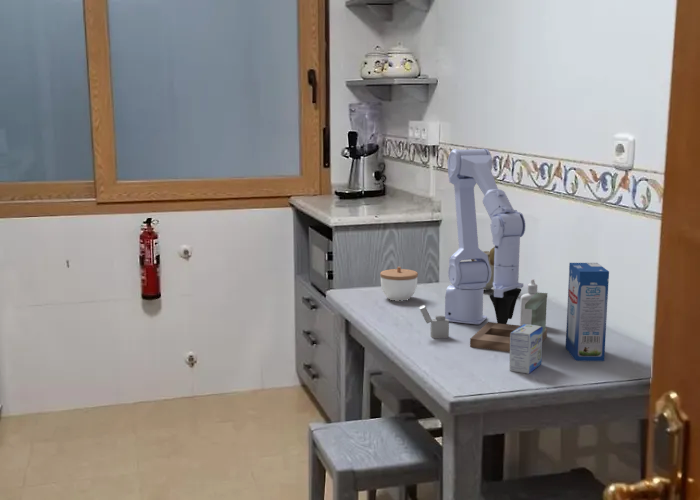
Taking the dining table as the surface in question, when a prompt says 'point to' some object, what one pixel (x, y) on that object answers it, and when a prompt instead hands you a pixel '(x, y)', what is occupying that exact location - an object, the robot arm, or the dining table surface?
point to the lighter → (436, 324)
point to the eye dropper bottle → (526, 313)
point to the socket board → (510, 327)
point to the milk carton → (587, 311)
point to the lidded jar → (398, 283)
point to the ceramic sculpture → (491, 263)
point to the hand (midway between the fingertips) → (504, 320)
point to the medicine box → (526, 348)
